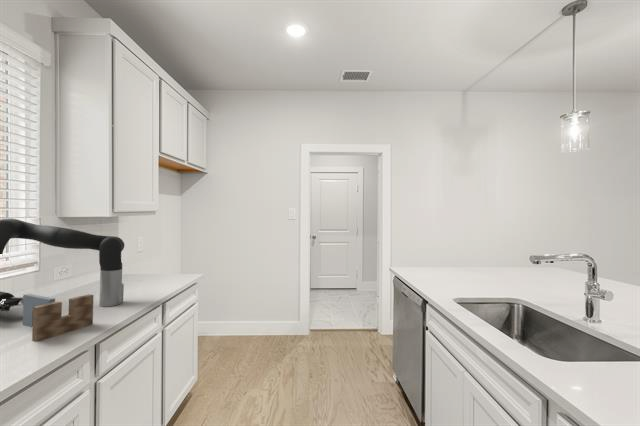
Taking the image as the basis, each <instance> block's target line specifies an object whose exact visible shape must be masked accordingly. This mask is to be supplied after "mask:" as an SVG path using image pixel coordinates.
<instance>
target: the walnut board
mask: <svg viewBox="0 0 640 426" xmlns="http://www.w3.org/2000/svg"><path fill="white" fill-rule="evenodd" d="M94 297H95V296H94V294H90V293H89V294H84V295H79V296H76V297H71V298H68V314H66V315H63V312H62V311H63V310H62V309H63V301H62V302H61V301H55V302H52V303H48V304H43V305H39V306H34V307H33V327H32V333H31V336H32V338H31V341H33V342H39V341H43V340H46V339H49V338H53V337H56V336H60V335H63V334H65V333H69V332H72V331H75V330H79V329H82V328H85V327H88V326H92V325H93V323H94Z"/></svg>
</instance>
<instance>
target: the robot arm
mask: <svg viewBox="0 0 640 426" xmlns="http://www.w3.org/2000/svg"><path fill="white" fill-rule="evenodd" d="M10 239H22V240H30V241H35V242H39V243H42V244H45V245H47V246H50V247H51V246H52V247H55V248H63V249H69V250H70V249H74V250H94V251H98V252H99V253H98V257H99V258H98V259H99V261H98V263H99V266H100V270H99V271H100V272H99V274H100V275H99V302H98V303H99V306H100V307H115V306H118V305H121V304H122V303H124V287H125V286H124V283H123V263H122V252H123V250H124V249H125V242H124V241H123V239H121V238H120V237H119V236H113V235H112V236H110V235H100V234H94V233H88V232H85V231H82V230H76V229H73V228H67V227H62V226H61V227H60V226H53V225H44V224H43V225H42V224H36V223H35V224H34V223H31V222H29V221H28V222H27V221H23V220H20V219H16V218H0V254H2V255H3V253H4V250H5V248H6V246H7V244H8V242H9V241H10ZM14 307H23V296H21V297H16V296H14V295H13V294H12V293H10V292H5V291H0V312H10V309H11V308H14Z"/></svg>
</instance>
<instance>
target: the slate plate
mask: <svg viewBox="0 0 640 426" xmlns="http://www.w3.org/2000/svg"><path fill="white" fill-rule="evenodd" d="M22 297H23V306H22V325H23V326H26V327H30V328H33V307H34V306H39V305H43V304H48V303H52V302H56V298H54V297H49V296H43V295H39V294H32V293H25V294H23V296H22Z"/></svg>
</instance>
